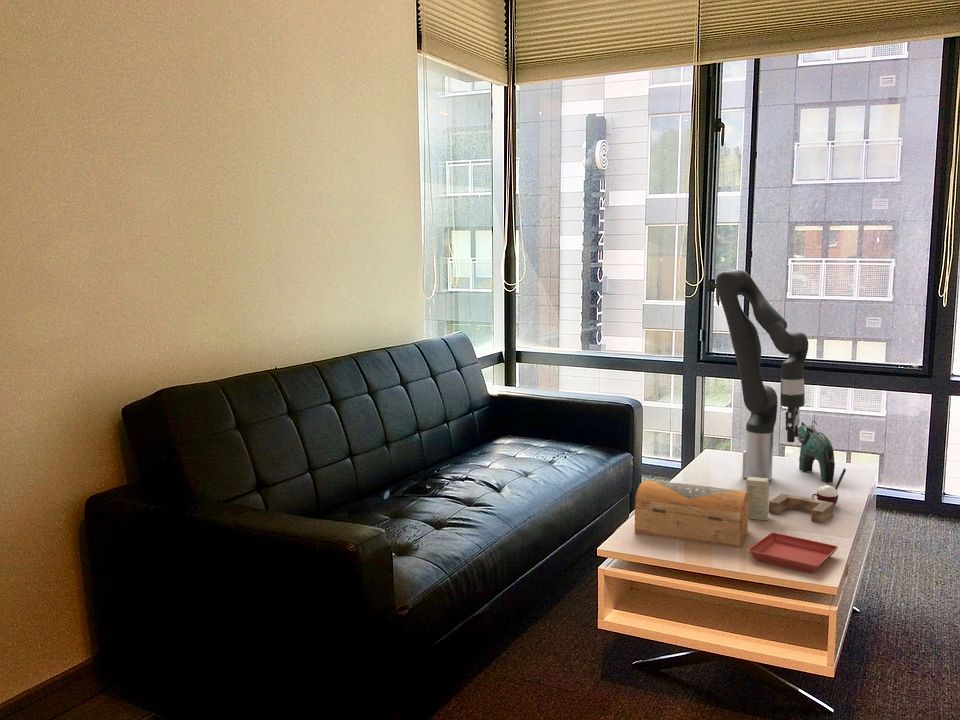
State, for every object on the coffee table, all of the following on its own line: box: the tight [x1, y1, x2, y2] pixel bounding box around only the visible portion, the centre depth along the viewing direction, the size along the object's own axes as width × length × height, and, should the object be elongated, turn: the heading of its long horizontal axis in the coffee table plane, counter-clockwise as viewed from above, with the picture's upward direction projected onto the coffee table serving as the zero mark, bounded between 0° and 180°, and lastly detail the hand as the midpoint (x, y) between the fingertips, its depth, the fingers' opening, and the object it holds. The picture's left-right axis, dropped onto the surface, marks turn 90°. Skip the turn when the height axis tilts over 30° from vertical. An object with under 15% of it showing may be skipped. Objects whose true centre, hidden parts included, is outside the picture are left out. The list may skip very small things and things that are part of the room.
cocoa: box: [811, 467, 847, 506], centre depth 259 cm, size 10×6×12 cm, turn 55°
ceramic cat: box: [796, 419, 836, 484], centre depth 292 cm, size 20×6×20 cm, turn 6°
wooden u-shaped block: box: [768, 493, 835, 524], centre depth 252 cm, size 16×11×4 cm
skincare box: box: [745, 477, 770, 521], centre depth 248 cm, size 6×4×12 cm
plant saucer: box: [747, 532, 839, 574], centre depth 216 cm, size 18×18×3 cm
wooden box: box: [634, 479, 749, 549], centre depth 236 cm, size 30×16×14 cm, turn 64°
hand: (792, 439), depth 275 cm, fingers open, 8 cm apart
